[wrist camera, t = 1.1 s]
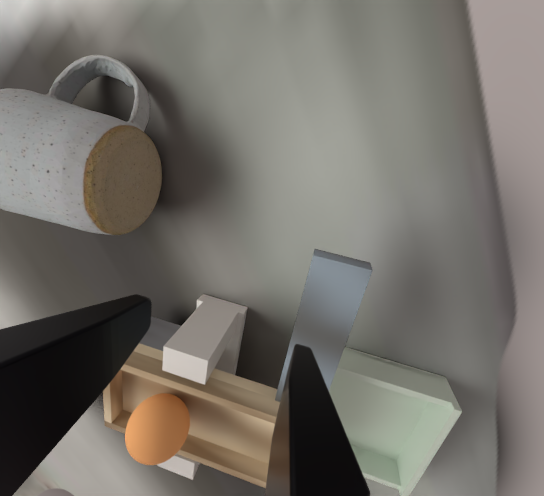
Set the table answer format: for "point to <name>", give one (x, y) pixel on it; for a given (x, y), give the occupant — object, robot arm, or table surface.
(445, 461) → the table surface
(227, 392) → the lever
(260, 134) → the table surface
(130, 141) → the ceramic mug
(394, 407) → the tray
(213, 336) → the stand
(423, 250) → the table surface
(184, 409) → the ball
